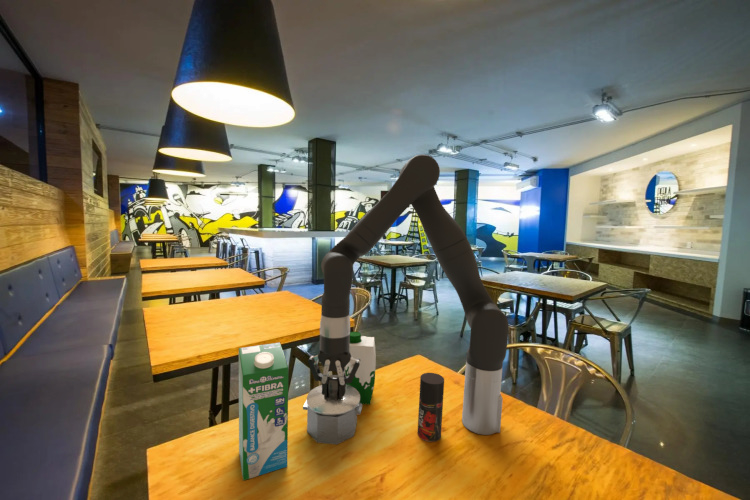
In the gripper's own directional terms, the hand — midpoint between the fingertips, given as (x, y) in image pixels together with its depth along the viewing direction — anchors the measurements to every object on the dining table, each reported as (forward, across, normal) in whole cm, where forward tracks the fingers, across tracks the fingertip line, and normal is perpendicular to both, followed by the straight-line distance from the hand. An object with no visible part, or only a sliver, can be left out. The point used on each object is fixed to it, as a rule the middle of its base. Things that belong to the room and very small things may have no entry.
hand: (333, 395), depth 83 cm
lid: (+1, 0, 0) cm, 1 cm away
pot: (+9, 0, 0) cm, 9 cm away
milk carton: (+9, +13, +13) cm, 20 cm away
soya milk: (+9, -5, -15) cm, 18 cm away
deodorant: (+9, -25, -1) cm, 26 cm away
